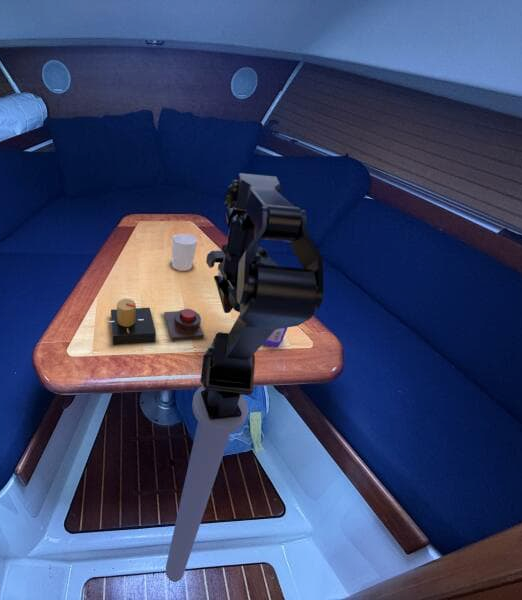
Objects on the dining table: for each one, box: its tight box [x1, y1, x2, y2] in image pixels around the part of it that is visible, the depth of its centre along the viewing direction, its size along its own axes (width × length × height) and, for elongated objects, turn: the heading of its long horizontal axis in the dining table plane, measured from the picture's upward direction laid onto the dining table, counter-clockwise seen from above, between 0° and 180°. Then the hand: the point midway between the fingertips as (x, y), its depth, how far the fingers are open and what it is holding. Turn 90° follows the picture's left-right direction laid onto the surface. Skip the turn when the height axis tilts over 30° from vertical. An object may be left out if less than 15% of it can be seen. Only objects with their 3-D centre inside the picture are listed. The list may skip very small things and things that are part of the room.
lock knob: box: [116, 298, 137, 327], centre depth 76 cm, size 4×4×5 cm
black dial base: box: [107, 307, 157, 346], centre depth 79 cm, size 10×11×3 cm
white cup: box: [171, 233, 198, 272], centre depth 105 cm, size 8×8×10 cm
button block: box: [163, 309, 205, 342], centre depth 81 cm, size 10×8×3 cm
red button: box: [181, 308, 197, 323], centre depth 80 cm, size 4×4×2 cm
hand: (226, 311), depth 68 cm, fingers closed
